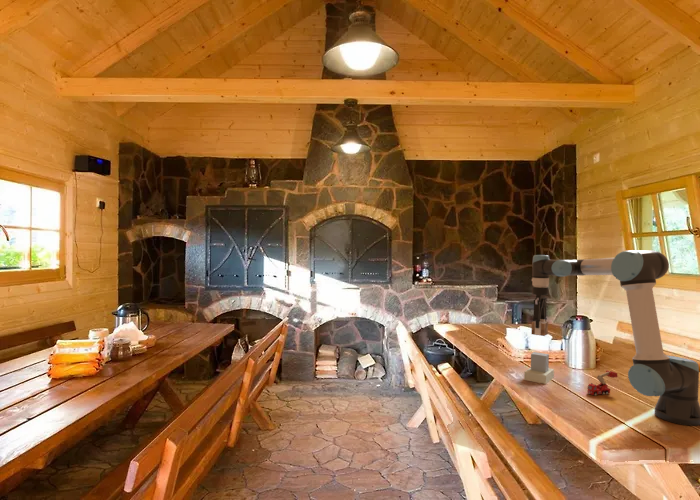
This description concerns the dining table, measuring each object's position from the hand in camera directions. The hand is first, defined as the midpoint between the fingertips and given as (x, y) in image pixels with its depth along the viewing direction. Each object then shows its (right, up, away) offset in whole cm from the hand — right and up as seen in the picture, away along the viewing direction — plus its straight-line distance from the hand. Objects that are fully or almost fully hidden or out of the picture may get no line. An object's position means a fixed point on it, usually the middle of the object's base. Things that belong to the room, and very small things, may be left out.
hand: (539, 333), depth 220 cm
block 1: (0, 0, 0) cm, 0 cm away
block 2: (0, -18, 0) cm, 18 cm away
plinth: (0, -22, 0) cm, 22 cm away
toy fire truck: (+19, -23, -21) cm, 36 cm away
